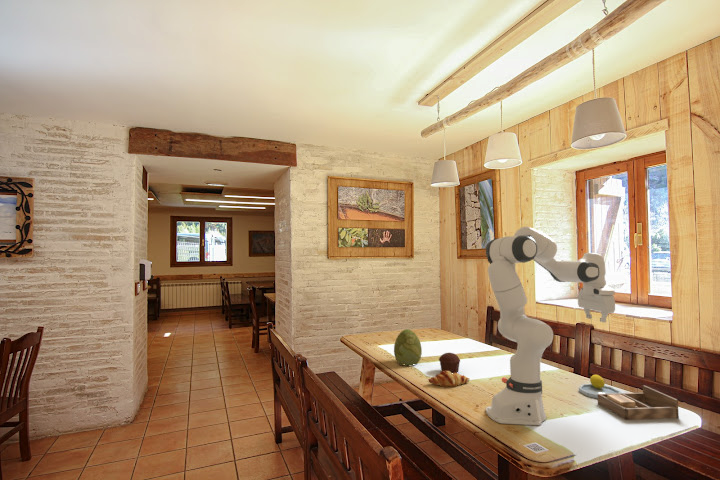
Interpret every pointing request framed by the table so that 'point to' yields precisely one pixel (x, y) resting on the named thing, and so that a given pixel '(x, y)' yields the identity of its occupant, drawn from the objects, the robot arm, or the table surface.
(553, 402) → the table surface
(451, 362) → the muffin
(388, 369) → the table surface
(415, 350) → the decorative sculpture
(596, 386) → the lemon
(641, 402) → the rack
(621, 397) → the block
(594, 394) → the plate
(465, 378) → the croissant
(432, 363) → the table surface
